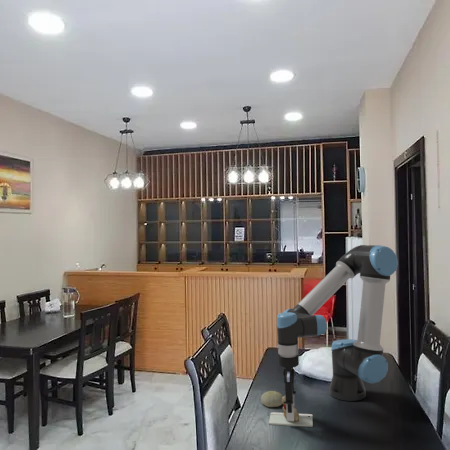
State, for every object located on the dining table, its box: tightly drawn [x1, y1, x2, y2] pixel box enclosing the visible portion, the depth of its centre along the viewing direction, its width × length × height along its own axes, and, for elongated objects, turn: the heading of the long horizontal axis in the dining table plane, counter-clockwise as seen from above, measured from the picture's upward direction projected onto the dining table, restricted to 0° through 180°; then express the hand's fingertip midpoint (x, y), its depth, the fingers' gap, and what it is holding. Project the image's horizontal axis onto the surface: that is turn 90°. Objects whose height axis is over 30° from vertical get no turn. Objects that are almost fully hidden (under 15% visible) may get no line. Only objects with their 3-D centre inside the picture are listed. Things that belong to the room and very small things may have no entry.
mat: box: [268, 414, 314, 428], centre depth 156 cm, size 16×7×1 cm, turn 79°
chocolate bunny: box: [282, 395, 300, 421], centre depth 156 cm, size 6×8×10 cm
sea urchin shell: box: [260, 390, 283, 408], centre depth 172 cm, size 9×8×8 cm
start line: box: [270, 411, 313, 417], centre depth 161 cm, size 16×2×1 cm, turn 79°
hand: (290, 415), depth 156 cm, fingers closed on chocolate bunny, 7 cm apart
